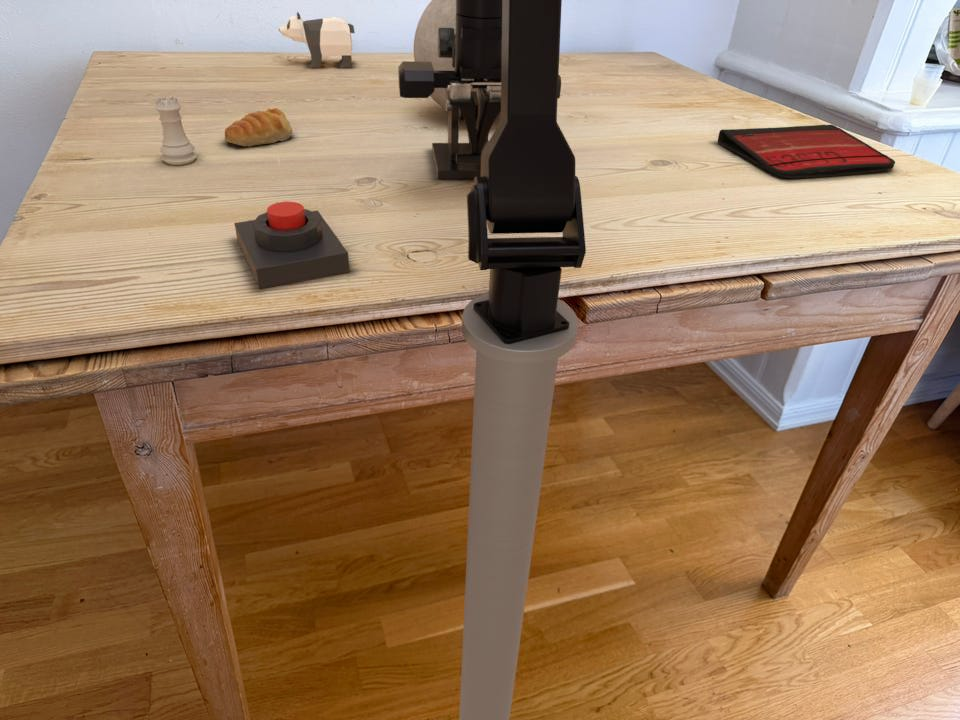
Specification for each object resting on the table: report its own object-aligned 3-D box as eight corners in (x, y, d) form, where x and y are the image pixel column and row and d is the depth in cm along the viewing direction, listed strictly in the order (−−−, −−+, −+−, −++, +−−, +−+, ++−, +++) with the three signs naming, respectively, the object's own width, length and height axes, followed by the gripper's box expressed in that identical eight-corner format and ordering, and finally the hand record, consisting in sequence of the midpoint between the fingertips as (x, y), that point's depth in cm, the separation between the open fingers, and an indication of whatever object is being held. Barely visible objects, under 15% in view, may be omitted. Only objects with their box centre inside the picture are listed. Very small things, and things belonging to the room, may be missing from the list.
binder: (719, 127, 105) (832, 122, 110) (715, 142, 107) (826, 136, 112) (781, 169, 93) (904, 160, 98) (775, 185, 95) (897, 176, 100)
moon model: (393, 123, 108) (388, -19, 96) (444, 93, 123) (445, -33, 112) (510, 143, 103) (520, -5, 91) (548, 109, 118) (561, -21, 106)
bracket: (504, 178, 91) (509, 103, 85) (437, 179, 90) (438, 103, 84) (493, 150, 100) (496, 81, 94) (432, 151, 98) (432, 80, 93)
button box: (349, 272, 69) (346, 236, 66) (259, 289, 65) (253, 251, 63) (319, 228, 76) (316, 194, 74) (237, 241, 73) (231, 206, 71)
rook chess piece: (163, 167, 89) (148, 105, 84) (161, 156, 92) (146, 95, 88) (198, 163, 91) (186, 102, 86) (195, 152, 94) (183, 93, 89)
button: (309, 229, 68) (308, 212, 67) (273, 234, 67) (271, 218, 66) (300, 215, 71) (298, 199, 70) (265, 220, 69) (263, 204, 68)
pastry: (242, 152, 95) (237, 125, 92) (215, 141, 98) (210, 114, 96) (297, 138, 101) (294, 111, 98) (270, 127, 104) (266, 102, 102)
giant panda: (356, 61, 140) (353, 10, 135) (357, 68, 136) (353, 15, 130) (283, 61, 138) (277, 9, 132) (282, 68, 133) (275, 14, 128)
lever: (495, 168, 86) (497, 154, 84) (456, 169, 85) (457, 154, 83) (485, 106, 92) (487, 91, 90) (448, 106, 91) (449, 91, 89)
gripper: (548, 4, 83) (536, 132, 92) (395, 0, 81) (399, 132, 90) (569, 21, 74) (554, 160, 83) (397, 17, 72) (401, 161, 81)
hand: (476, 152), depth 84 cm, fingers closed, pressing on lever
